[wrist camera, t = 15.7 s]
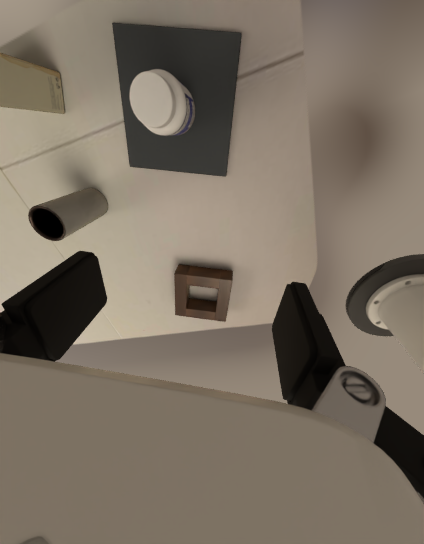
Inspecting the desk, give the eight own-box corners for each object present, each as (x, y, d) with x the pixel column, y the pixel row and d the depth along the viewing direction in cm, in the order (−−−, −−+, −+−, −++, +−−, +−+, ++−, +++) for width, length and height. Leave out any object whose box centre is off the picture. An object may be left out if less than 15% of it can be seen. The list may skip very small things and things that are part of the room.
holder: (232, 270, 39) (232, 280, 36) (226, 310, 44) (225, 321, 42) (178, 264, 39) (174, 273, 36) (178, 304, 45) (175, 315, 42)
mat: (241, 34, 22) (241, 32, 22) (226, 176, 30) (225, 176, 30) (114, 24, 23) (111, 22, 22) (131, 166, 31) (129, 166, 30)
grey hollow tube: (85, 181, 33) (31, 197, 24) (112, 200, 34) (69, 222, 25) (77, 204, 35) (24, 226, 26) (102, 221, 36) (60, 247, 27)
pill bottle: (145, 106, 26) (109, 94, 19) (175, 70, 24) (147, 40, 17) (174, 145, 28) (152, 148, 21) (204, 114, 26) (191, 106, 19)
